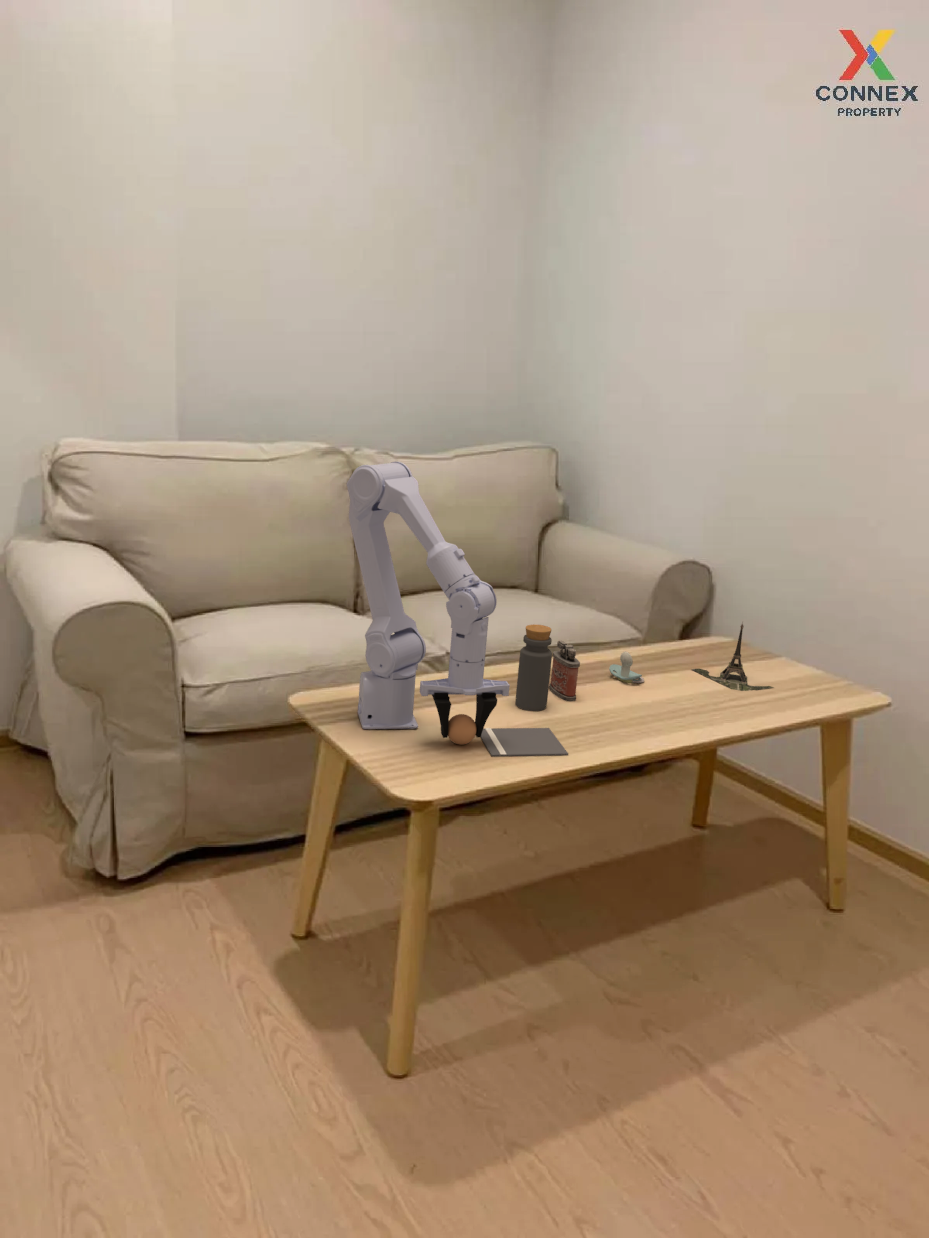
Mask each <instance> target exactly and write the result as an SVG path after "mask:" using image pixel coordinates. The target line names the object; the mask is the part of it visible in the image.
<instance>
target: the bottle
mask: <svg viewBox="0 0 929 1238" xmlns="http://www.w3.org/2000/svg"><path fill="white" fill-rule="evenodd" d="M551 633H552V628H551V627H549V626H547V625H544V624H543V625H542V624H535V623H534V624H527V625H526V626H525V634H524V635H523V640H522V641H523V643H524V644H525V646H523V647H522V648H520V651H519V659H518V660H519V661H518V667H517V668H518V670H517V681H516V689H515V690H516V691H515V701H514V702H515V707H518V709H521V710H524V711H530V712H538V711H544V710H545V709H546V708H547V706H548V705H547V704H548V698H549V696H548V695H549V690H550V689H549V684H550V681H551V671H552V661H553V656H552V655H553V651H552V650H551V649H549V647H550V646H551V644H552V641H553V640H552V637H550V636H551Z"/></svg>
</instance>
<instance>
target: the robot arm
mask: <svg viewBox="0 0 929 1238" xmlns="http://www.w3.org/2000/svg"><path fill="white" fill-rule="evenodd" d="M419 486H420V485H419V481H418V480H417V479H416V478H415V477H414V476H413V473H412V471H411V468H410V467H409V466H408V465H407V464H405V463H404V462H402V461H398V460H397V461H392V462H388V463H378V464H362V465H360V466H358V467H356V468H355V469H354V471H353V472H352V474H351V475H350V477H349V479H348V481H347V483H346V487H347V491H348V497H349V506H348V507H349V509H348V522H349V526H350V530H351V533H352V539H353V542H354V547H355V551H356V555H357V558H358V564H359V568H360V573H361V577H362V580H363V585H364V588H365V593H366V598H367V602H368V606H369V610H370V615H371V618H372V619H371V623H370V625H369V627H368V628H367V630H366V632H365V634H364V638H365V644H366V646H365V647H366V649H365V661H366V664H367V665H368V668H369V669H370V670H368V671H367V670H366V671H361V673H360V675H359V676H360V677H359V685H358V686H359V687H358V688H359V689H358V690H359V691H358V703H357V704H358V705H357V714H358V715H357V716H358V720H359V721H360V725H361V728H362V729H364V730H376V729H377V730H389V729H390V730H393V729H396V730H398V729H399V730H400V729H403V730H404V729H405V730H406V729H418V728H419V724H418V722H417V720H416V717H415V715H414V708H415V707H414V706H415V705H414V704H415V692H416V690H415V689H416V678H417V676H416V675H417V674H416V673H417V670H418V669H419V663H421V662H422V661H423V660H424V658H425V656H426V652H427V647H426V643H425V639H424V638H423V636H422V635H421V633H420V632H419V630H418V627H417V622H416V621H415V620H414V619H413V618H412V617H410V616H409V615H408V614H407V613H405V609H404V604H403V601H402V597H401V592H400V587H399V584H398V583H399V582H398V579H397V576H396V571H395V567H394V563H393V559H392V554H391V551H390V550H391V549H390V545H389V542H388V541H389V540H388V537H387V533H386V528H385V525H384V523H385V520H386V519H387V518H388V516H389V514H390V513H393V514H396V515H399V517H401V519H402V520H403V521H404V523H405V524H406V525H407V527H408V528H409V530H410V531H411V532H412V533H413V535H414V536H415V538H416V539H417V540H418V542H419V543H420V545H421V546H422V547H423V549H424V550H425V551H426V553H427V557H426V562H425V563H426V566H427V568H428V569H429V571H430V573H431V574H432V575H433V578H434V579H435V580H436V582H437V584H438V585H439V587H440V588H441V590H442V592H443V593H444V596H446V598H447V599H448V601H446V602H445V607H446V612H447V614H448V616H449V617H450V621H451V622H450V623H451V624H450V628H451V636H450V650H449V661H448V662H449V665H448V673H447V677H446V678H440V679H438V678H437V679H432V680H420V682H419V683H420V684H419V694H420V695H421V697H428V696H430V695H431V696H432V699H433V701H434V705H435V707H436V710H437V714H438V718H439V722H440V723H439V725H440V734H441V736H442V738H443V739H448V738H449V737H448V723H449V720H450V714H451V708H452V702H451V701H450V696H449V695H459V696H460V695H462V696H463V695H464V696H475V697H476V701H475V702H476V704H475V707H476V708H475V709H476V710H475V719H474V722H475V724H476V728H477V731H476V735H475V737H476V738H478V739H479V738H481V734H482V731H483V728H485V725H486V723H487V720H488V719H489V717H490V715H491V714H492V712H493V711H494V709H495V707H497V705H498V698H497V695H501V696H503V697H509V695H510V683H508V681H507V680H494V679H487V678H484V674H485V664H486V663H485V662H486V661H485V660H486V652H487V641H488V640H487V639H488V630H489V629H488V626H489V616H490V615H492V614H493V613H494V612H495V609H496V607H497V603H498V602H497V599H498V598H497V596H496V593H495V591H494V588H493V586H492V585H491V584H489V582H486V581H483V580H481V579H480V578H479V576H478V575H476V574H475V572H474V571H473V568H471V566H470V564H469V563H468V561H467V559H466V558H465V555H466V554H465V552H464V551H463V549H462V548H459V547H458V546H457V544H455V543H451V542H447V541H446V540H445V538H444V536H443V534H442V533H441V531H440V528H439V527H438V525H437V523H436V522H435V520H434V518H433V516H432V513H431V512H430V510H429V508H428V507H427V505H426V503H425V501H424V500H423V497H422V496H421V494H420V489H419V488H420V487H419ZM393 633H394V634H393Z"/></svg>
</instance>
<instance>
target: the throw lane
mask: <svg viewBox="0 0 929 1238" xmlns="http://www.w3.org/2000/svg"><path fill="white" fill-rule="evenodd" d="M480 739H481V741H482V743H483V744H484V746H485V748H486V750H487V751H488V753H489V755H490V756H491V757H537V756H538V757H542V756H543V757H544V756H545V757H546V756H548V757H549V756H551V757H552V756H569V752H568V751H567V749H566V748H565V747H564V746H563V744H562V742H560V740H559V739H558V738H557V736H556V735H555V734H554V732H553V731H552V730H551V728H550V727H517V728H516V727H511V728H510V727H504V728H503V727H502V728H501V727H500V728H499V727H498V728H497V727H495V728H491V727H486V728H485V727H484V728H483V731H482V734H481V737H480Z"/></svg>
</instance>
